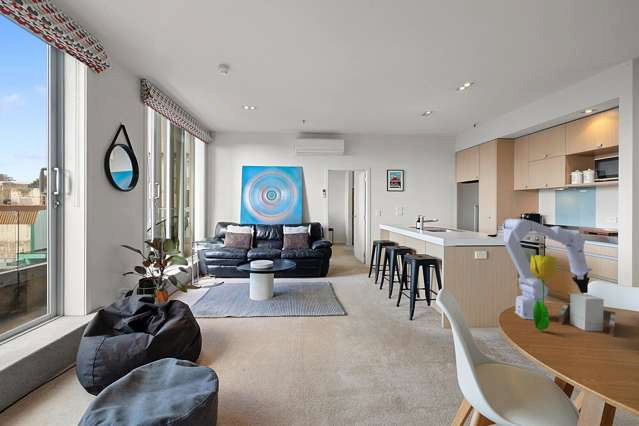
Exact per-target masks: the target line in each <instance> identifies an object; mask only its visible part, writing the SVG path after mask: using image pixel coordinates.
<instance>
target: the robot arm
mask: <svg viewBox="0 0 639 426" xmlns="http://www.w3.org/2000/svg"><path fill="white" fill-rule="evenodd" d="M501 229H502V231H503V244H504V246H505V247H506V250H507V252H508V255H509V256H510V259H511V260H512V262H513V264H514V266H515V269H516V271H517V273H518V275H519V278H518V279H517V280H518V282H519V283H518V284H519V290H520V291H521V292H522V295H517V296H516V299H515V311H514V313H515V314H516V315H518V316H519V317H520V318H522V319H524V320H534V316H533V309H534V306H535V304H536V302H537V300H539V301H541V302H542V303H543V285H542V281H541V280H539V279H537V278H536V277H535V276H534V275H533V274H532V272H531V270H530V261H529V259H528V258H527V255H526V253H525V251H524V249H523V247H522V245H521V241H522V240H523V239H524V238H525V237H527V235H528V233H530V232H533V231H534V232H536V233H540V234H543V235H546V236H547V239H549V240H553V241H555V242H558V243H561V245H564V246H565V252H566V254H567V259H568V262H569V264H568V265H569V267H570V272H571V273H572V274H573V275H574V276H572V277H571V279H572V281H573V282H574V283H575V284H576V286H577V288H578V290H579V291H580V294H589V293H588V292H589V281H590V279H591V278H590V277H588V275H589V272H592V268H591V267H588V264H587V259H586V256H585V252H584V249H585V242H586V238H584V237H583V235H582V234H580V233H576V232H575V233H574V232H572V230H570V229H569V230H568V229H567V230H566V229H563V228H562V226H558V225H555V226H551V227H548V226H546V225H544V224H540V223H538V222H536V221H533V220H528V219H525V218H522V219H521V218H520V219H519V218H512V217H511V218H507V219H506V220H505V221H504V222H503V224H502V226H501ZM548 293H549V289H548V286H547V285H545V284H544V298H546V297H547V296H548Z"/></svg>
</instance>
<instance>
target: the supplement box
mask: <svg viewBox="0 0 639 426" xmlns="http://www.w3.org/2000/svg"><path fill="white" fill-rule="evenodd" d="M604 301H605V299H603V298H601V297H598V296H595V295H593V294H590V293H570V301H569V304H570V315H569V324H570V325H572V326H574V327H577V328H579V329H580V330H582V331H586V332H595V331H596V332H603V331H604V323H603V310H604Z"/></svg>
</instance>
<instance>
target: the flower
mask: <svg viewBox="0 0 639 426" xmlns="http://www.w3.org/2000/svg"><path fill="white" fill-rule="evenodd" d="M529 263H530V270H531V272H532V274H533V275H534V276H535V277H536V278H537V279H539V280H541V281H542V285H543V303H542V302H541V301H539V300H537V302H536V304H535V306H534V309H533V316H534V319H533V321H534V325H535V328H536V329H538V330H540V332H543V330H546V329H548V327H549V326H550V315H549V311H548V307H547V306H546V305H545V304H544V302H545V301H544V300H545V297H544V285H545V281H549V280H550V279H552V278H553V277H554V276H555V275H556V273H557V258H556V257H554V256H551V255H549V254H545V255H540V254H538V255H537V254H535V255H533V254H531V258H530V261H529Z"/></svg>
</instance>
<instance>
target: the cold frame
mask: <svg viewBox="0 0 639 426" xmlns="http://www.w3.org/2000/svg"><path fill="white" fill-rule="evenodd" d="M568 316H570V302H568V303H567V302H564V304H563V306H562V307H561V309H560V310H559V312H558V325H561V324H562V325H563V323H564V322H565V320H566V319H567V317H568ZM616 317H617V314H616V311H612V310H611V311H609V310H605V309H603V324H609V325H608V326H609V337H614V334H615V327H616Z"/></svg>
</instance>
